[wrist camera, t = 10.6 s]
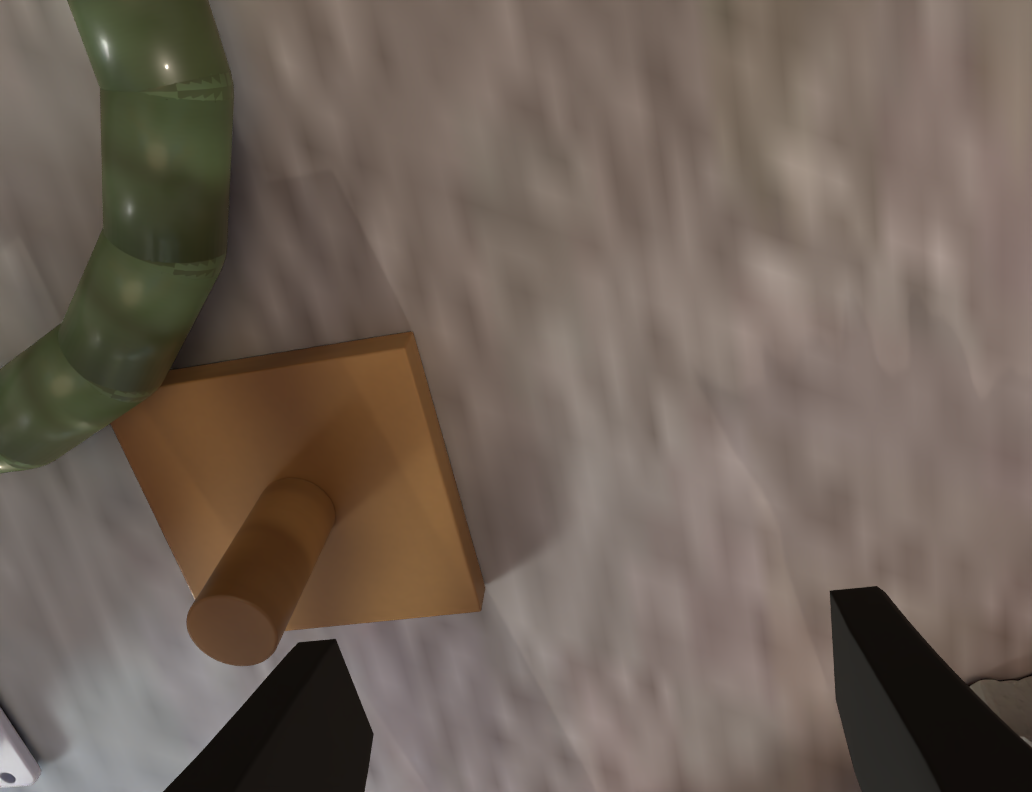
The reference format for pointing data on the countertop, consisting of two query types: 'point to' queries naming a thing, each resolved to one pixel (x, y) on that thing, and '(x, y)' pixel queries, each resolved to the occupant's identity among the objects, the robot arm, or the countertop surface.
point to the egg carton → (1009, 703)
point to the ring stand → (304, 493)
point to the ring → (134, 227)
